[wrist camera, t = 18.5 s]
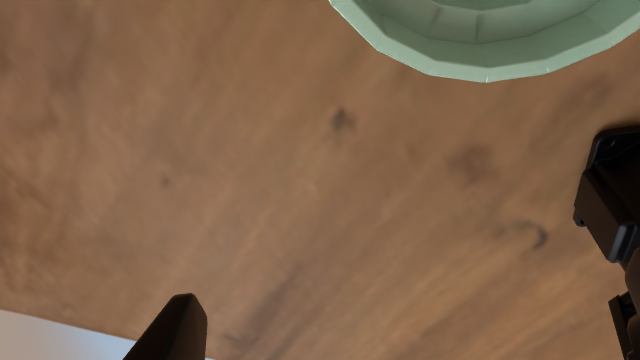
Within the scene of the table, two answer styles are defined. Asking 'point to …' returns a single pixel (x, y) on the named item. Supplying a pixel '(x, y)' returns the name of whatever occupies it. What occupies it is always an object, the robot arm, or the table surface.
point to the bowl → (490, 33)
